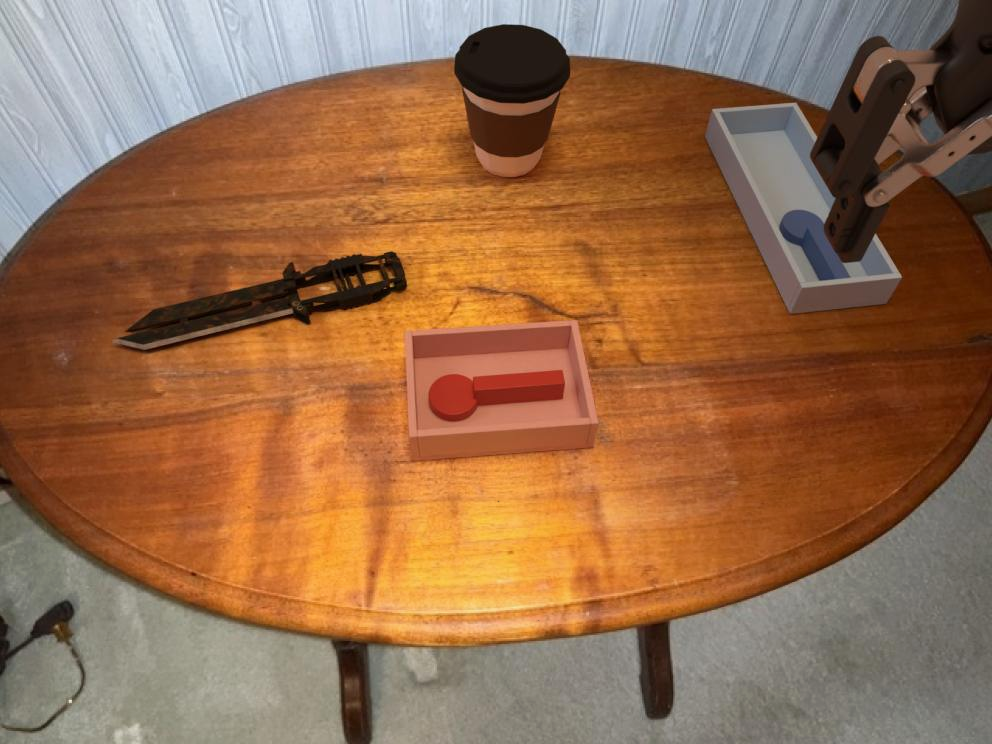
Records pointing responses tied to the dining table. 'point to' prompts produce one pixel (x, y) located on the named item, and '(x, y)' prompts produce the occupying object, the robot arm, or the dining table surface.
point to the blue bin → (790, 205)
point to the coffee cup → (511, 93)
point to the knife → (271, 308)
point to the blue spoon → (813, 243)
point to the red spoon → (491, 391)
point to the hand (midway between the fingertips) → (926, 243)
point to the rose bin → (499, 423)
